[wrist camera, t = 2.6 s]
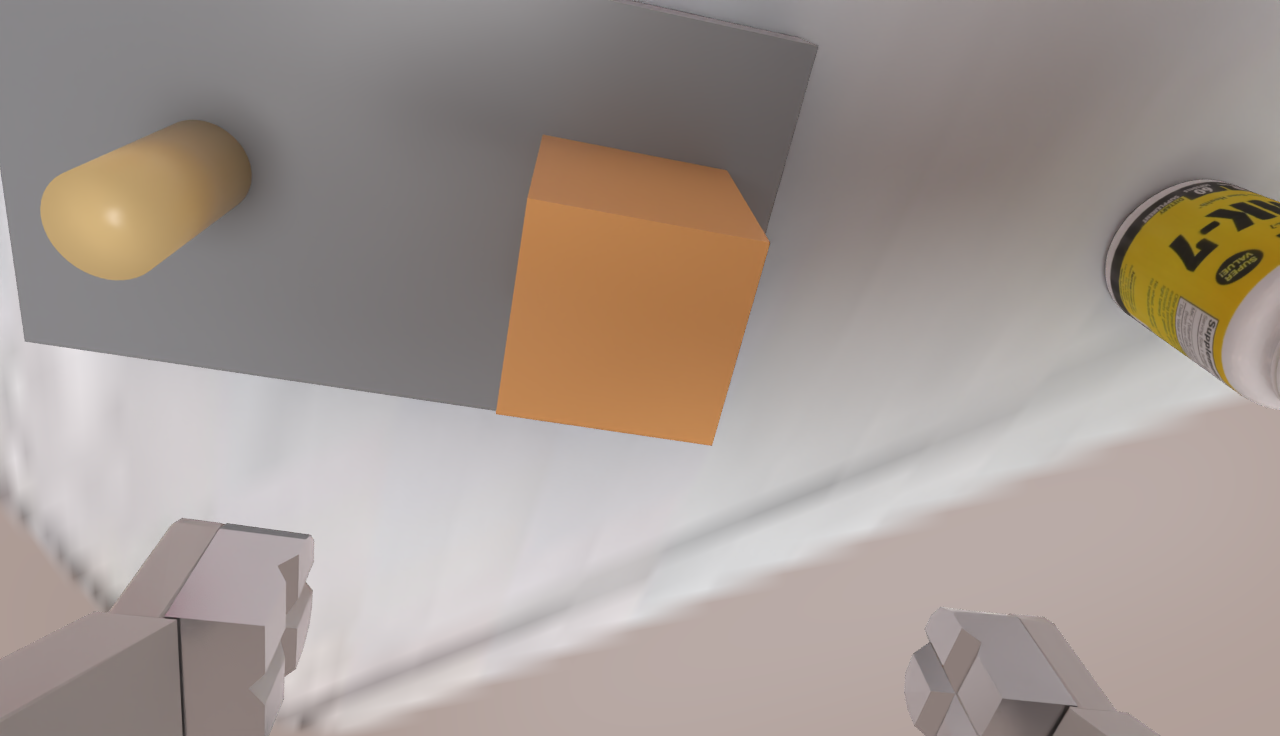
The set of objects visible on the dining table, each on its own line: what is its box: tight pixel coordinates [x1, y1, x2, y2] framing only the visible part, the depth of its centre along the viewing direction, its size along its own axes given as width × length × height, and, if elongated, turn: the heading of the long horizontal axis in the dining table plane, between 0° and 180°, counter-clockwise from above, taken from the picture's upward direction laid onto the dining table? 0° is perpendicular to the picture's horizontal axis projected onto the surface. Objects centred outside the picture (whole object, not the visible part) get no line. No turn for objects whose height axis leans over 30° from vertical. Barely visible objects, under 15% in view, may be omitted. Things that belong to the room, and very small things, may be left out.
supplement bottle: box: [1105, 180, 1280, 410], centre depth 23 cm, size 5×5×8 cm
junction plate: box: [0, 0, 818, 411], centre depth 21 cm, size 20×12×7 cm, turn 78°
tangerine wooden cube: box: [496, 135, 770, 446], centre depth 20 cm, size 5×5×6 cm
